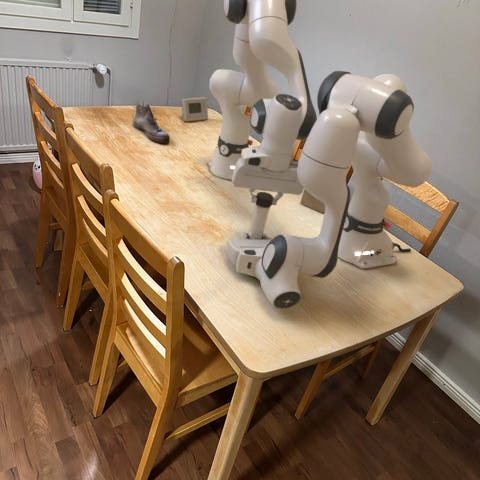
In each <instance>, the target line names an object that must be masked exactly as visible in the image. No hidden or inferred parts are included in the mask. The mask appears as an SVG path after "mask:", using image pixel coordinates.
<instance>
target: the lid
mask: <svg viewBox="0 0 480 480" xmlns="http://www.w3.org/2000/svg"><path fill="white" fill-rule="evenodd" d="M256 195H257V196H256V197H257V200H256V203H255V204H257V205H259V206H261V207H270V208H271V207H272V206H273V205H272V202H273V197H274V196H273V195H272V194H271V193H269V192H267V191H259V192H257V193H256Z"/></svg>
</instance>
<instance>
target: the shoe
mask: <svg viewBox="0 0 480 480" xmlns="http://www.w3.org/2000/svg"><path fill="white" fill-rule="evenodd" d="M153 112H154V113H157V111H156V110H155V109H152V108H151V107H150V104H148V103H144V101H143V102H142V103H139V102H138V101H137V102H136V105H135V110H134V113H133V117H132V125H133V126H134V127H135V128H137V129H139V131H142V132H144V133H145V134H146V137H147V138H148V139H149V140H150V141H152V142H155V143H158V144H164V145H166V144H169V143H170V138H171V137H170V135H169V133H168V132H167V131H165V129H163V128H162V127H160V126H159V125H158V122H157V120H158V119H157V118H155V116H154V113H153Z"/></svg>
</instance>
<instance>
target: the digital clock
mask: <svg viewBox="0 0 480 480" xmlns="http://www.w3.org/2000/svg"><path fill="white" fill-rule="evenodd" d="M181 112H182V114H181V118H182V121H183V122H190V123H191V122H199V121H201V122H202V121H203V120H208V119H209V110H208V99H207V97H206V96H200V97H199V96H197V97H187V98H182V99H181Z"/></svg>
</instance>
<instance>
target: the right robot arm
mask: <svg viewBox="0 0 480 480" xmlns="http://www.w3.org/2000/svg"><path fill="white" fill-rule="evenodd" d="M316 98H317V99H316V105H317V110H318V116H317V120H316V122H315V124H314V126H313V128H312V129H311V131H310V134H309V136H308V137H307V138H306V140H305V142H304V146H303V147H302V150H301V153H300V156H299V158H298V159H299V160H298V161H297V162H298V167H297V176H298V179H299V182H300V183H301V185H302V186H303V188H304V189H305V190H306V191H307V192H309V193H310V194H311V195H312V196H314V197H315V198H317V199H318V200H320V201H321V202H323V203H324V204H325V212H324V213H323V217H322V222H321V227H320V233H319V234H318V235H317V236H316V237H305V236H304V237H303V236H297V235H289V234H278V235H276V236H274V237H273V238H272V237H271V236H268V235H267V233H264V232H263V236H262V240H255V239H249V234H248V232H243V234H242V238H241V239H240V238H229V239H228V240H227V241H226V244H225V253H226V256H227V258H228V259H229V261H230V263H232V264H233V266H235V271H236V272H237V273H239V274H243V275H248V276H250V277H254V278H257V279H258V281H259V282H260V286H261V289H262V291H263V293H264V296H265V297H266V299H267V300H268V302H269V303H270V304H271V305H272V306H273V307H274V308H277V309H289V308H292V307H294V306H295V305H297V304H298V303H300V301H301V299H302V294H301V289H300V287H299V284H298V276H309V277H312V278H313V277H314V278H318V279H324V278H326V277H328V276H329V275H330V274H331V273H333V271H334V270H335V269H336V267H337V264H338V258H339V259H341V260H342V261H344V262H347V263H350V264H352V265H354V266H356V267H357V268H360V269H363V270H364V269H365V270H366V269H370V268H376V267H382V266H387V265H394V264H396V262H397V258H396V255H395V253H393V250H394V248H395V247H397V249H398V251H399V252H403V253H405V252H406V253H407V252H411V248H402V247H401V245H400V244H398V243H396V242H394V241H393V240H392V238H390V236H389V234H388V233H387V232H386V231H385V230H390V229H391V228H392V224H391V223H390V222H389V221H388V220H386V219H385V218H384V217H385V214H386V212H387V210H388V207H389V205H390V203H391V196H390V193H389V191H388V189H387V187H386V186H385V185H384V183H383V180H382V178H383V179H385V180H388V181H390V182H392V183H394V184H395V185H400V186H404V187H407V188H412V189H415V188H418V187H420V186H422V185H424V183H426V182H427V181H428V180H429V178H430V176H431V174H432V171H433V161H432V158H431V156H430V155H428V154H427V153H426V152H425V151H424V150H423V149H422V148H421V147H420V146H419V144H418V142H417V141H416V139H415V138H414V136H413V134H412V132H411V129H410V123H411V121H412V117H413V114H414V109H415V105H414V101H413V99H412V97H411V96H410V95H409V94H408V90H407V86H406V83H405V81H404V80H403V79H402V78H401V77H399V76H398V75H396V74H393V73H382V74H379V75H376V76H375V77H373V78H369V77H366V76H361V75H358V74H353V73H351V72H349V71H346V70H345V71H343V70H335V71H332V72H331V73H330V74H328V75H327V76H326V77H325V78H324V79H323V81H322V82H321V83H320V86H319V88H318V91H317V97H316ZM350 165H351V168H352V171H353V176H354V177H353V179H354V186H353V190H352V195H351V189H350V186H349V185H348V184H347V175H348V171H349V168H350ZM384 228H385V230H384Z"/></svg>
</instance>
